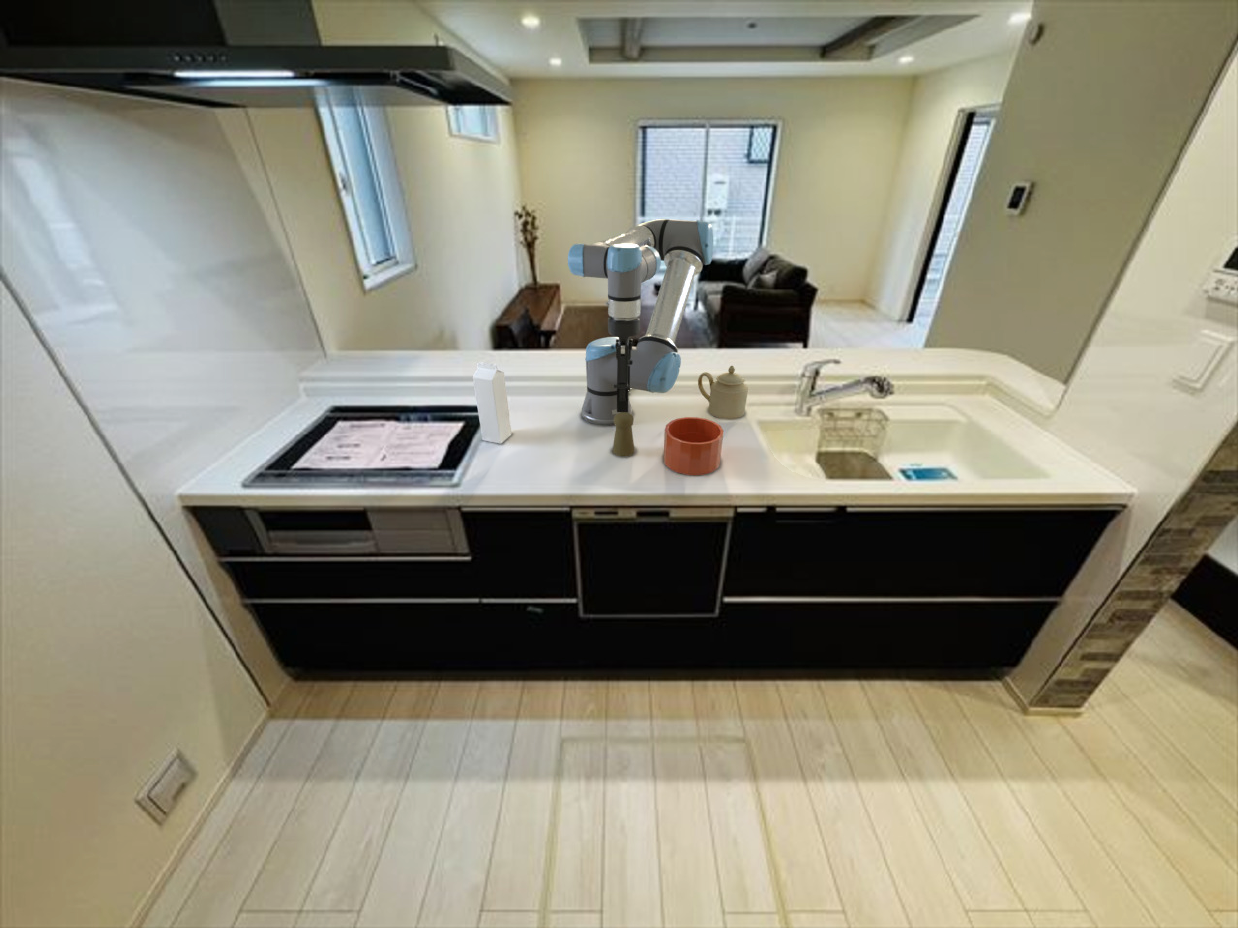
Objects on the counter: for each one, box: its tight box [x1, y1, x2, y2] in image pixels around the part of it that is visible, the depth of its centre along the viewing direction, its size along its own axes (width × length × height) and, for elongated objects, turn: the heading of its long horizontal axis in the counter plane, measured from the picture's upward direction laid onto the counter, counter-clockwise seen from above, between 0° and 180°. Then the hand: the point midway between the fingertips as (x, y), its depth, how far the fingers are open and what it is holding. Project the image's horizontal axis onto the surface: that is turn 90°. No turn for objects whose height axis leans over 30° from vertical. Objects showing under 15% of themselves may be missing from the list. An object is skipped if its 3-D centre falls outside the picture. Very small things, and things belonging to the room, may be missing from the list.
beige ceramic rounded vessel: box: [697, 365, 749, 420], centre depth 156 cm, size 15×11×15 cm
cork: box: [612, 412, 635, 458], centre depth 137 cm, size 6×6×11 cm
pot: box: [662, 416, 724, 476], centre depth 133 cm, size 15×15×9 cm
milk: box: [472, 361, 512, 445], centre depth 140 cm, size 6×6×22 cm
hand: (623, 400), depth 131 cm, fingers open, 13 cm apart
